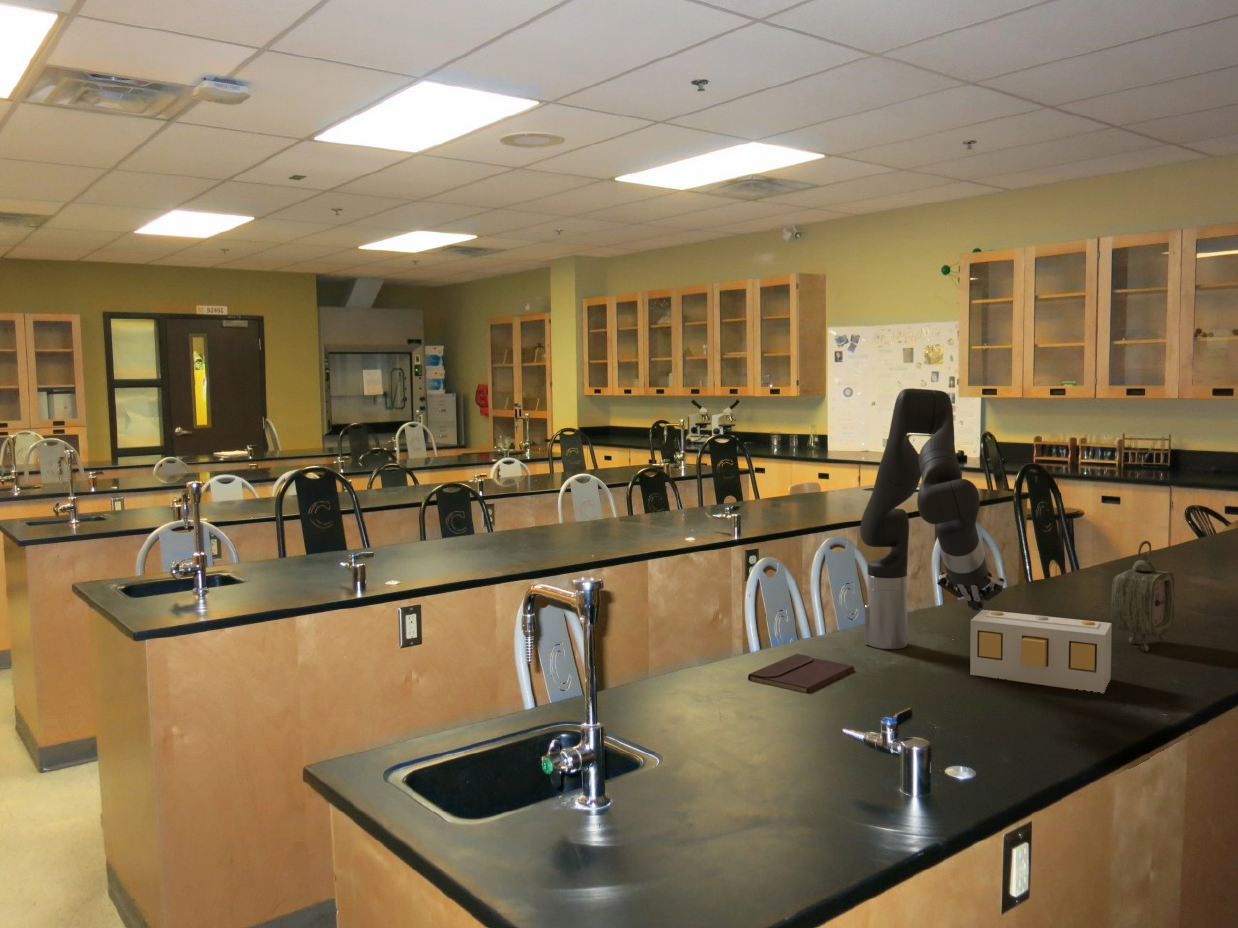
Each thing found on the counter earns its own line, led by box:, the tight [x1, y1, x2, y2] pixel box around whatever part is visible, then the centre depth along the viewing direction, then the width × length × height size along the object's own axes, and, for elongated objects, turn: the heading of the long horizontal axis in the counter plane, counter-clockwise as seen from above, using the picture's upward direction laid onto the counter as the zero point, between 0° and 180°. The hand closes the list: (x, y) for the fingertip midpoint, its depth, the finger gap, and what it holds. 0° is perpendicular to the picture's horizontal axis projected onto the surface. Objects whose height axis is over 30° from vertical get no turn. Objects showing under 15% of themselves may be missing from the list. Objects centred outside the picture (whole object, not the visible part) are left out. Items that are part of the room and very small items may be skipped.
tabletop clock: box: [1110, 540, 1175, 653], centre depth 226 cm, size 14×9×25 cm, turn 131°
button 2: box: [1071, 641, 1097, 671], centre depth 196 cm, size 4×3×5 cm
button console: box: [969, 609, 1113, 694], centre depth 204 cm, size 26×11×12 cm, turn 57°
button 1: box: [979, 631, 1003, 659], centre depth 206 cm, size 4×3×5 cm
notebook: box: [747, 653, 855, 694], centre depth 209 cm, size 15×20×2 cm
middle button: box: [1022, 636, 1047, 667], centre depth 199 cm, size 4×3×5 cm
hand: (977, 606), depth 193 cm, fingers closed
